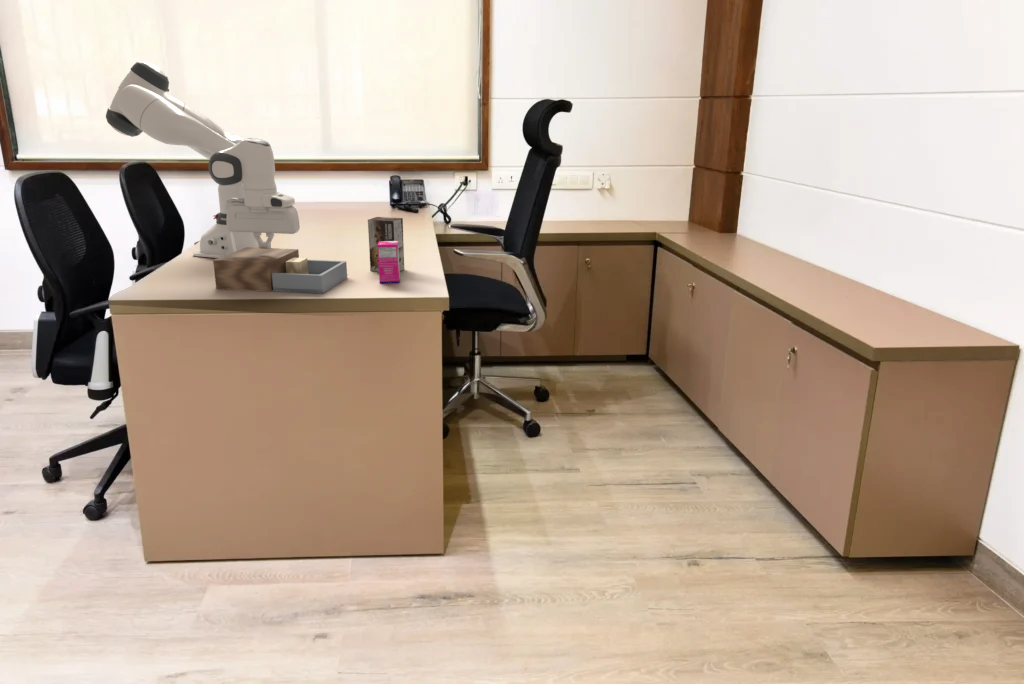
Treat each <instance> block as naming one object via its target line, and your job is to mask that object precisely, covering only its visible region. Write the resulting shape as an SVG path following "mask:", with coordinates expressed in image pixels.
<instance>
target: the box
mask: <svg viewBox="0 0 1024 684" xmlns="http://www.w3.org/2000/svg"><path fill="white" fill-rule="evenodd" d="M307 261H308V274H292V273H272V280H273V291H272V292H280V293H300V294H301V293H302V294H318V295H319V294H325V293H326V292H327V291H330V290H331V289H332V288H334V287H335V286H337V285H339V284H340V283H342V282H344V281H345V280H346V279H347V278H348V269H347V267H348V266H347V264H348V263H347V261H346V260H323V259H307Z"/></svg>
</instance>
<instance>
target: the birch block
mask: <svg viewBox="0 0 1024 684" xmlns="http://www.w3.org/2000/svg"><path fill="white" fill-rule="evenodd" d="M307 260H308V257H299V258H292V259H290V260H288V261H286V273H292V274H308V261H307Z"/></svg>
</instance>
